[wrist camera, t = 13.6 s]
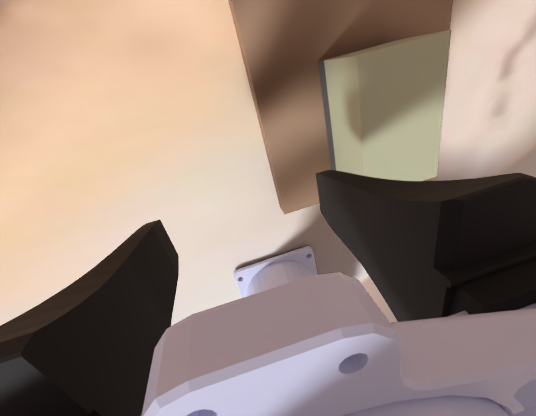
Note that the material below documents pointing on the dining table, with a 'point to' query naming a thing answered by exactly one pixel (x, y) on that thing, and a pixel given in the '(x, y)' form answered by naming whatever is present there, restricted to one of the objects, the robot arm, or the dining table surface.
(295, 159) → the walnut board
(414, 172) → the block
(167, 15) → the dining table surface
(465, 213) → the robot arm
